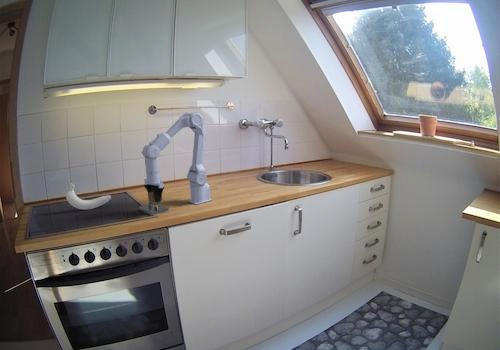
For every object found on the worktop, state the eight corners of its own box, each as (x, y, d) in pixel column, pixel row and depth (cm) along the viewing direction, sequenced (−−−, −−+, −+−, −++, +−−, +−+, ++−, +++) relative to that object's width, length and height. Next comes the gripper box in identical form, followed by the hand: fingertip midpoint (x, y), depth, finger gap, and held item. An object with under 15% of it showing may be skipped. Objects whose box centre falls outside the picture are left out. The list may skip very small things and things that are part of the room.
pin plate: (156, 205, 160) (155, 196, 159) (168, 210, 152) (167, 201, 151) (138, 209, 154) (137, 200, 153) (150, 215, 146) (149, 206, 145)
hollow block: (157, 201, 153) (156, 190, 152) (162, 203, 150) (161, 192, 149) (148, 203, 150) (147, 193, 149) (153, 205, 147) (152, 194, 146)
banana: (112, 206, 160) (108, 177, 157) (69, 214, 151) (64, 184, 147) (110, 203, 164) (107, 175, 161) (68, 211, 155) (63, 181, 151)
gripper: (137, 170, 149) (140, 199, 152) (152, 175, 139) (155, 205, 142) (151, 168, 154) (154, 195, 157) (166, 172, 143) (169, 202, 146)
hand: (155, 200), depth 150 cm, fingers closed on hollow block, 5 cm apart
